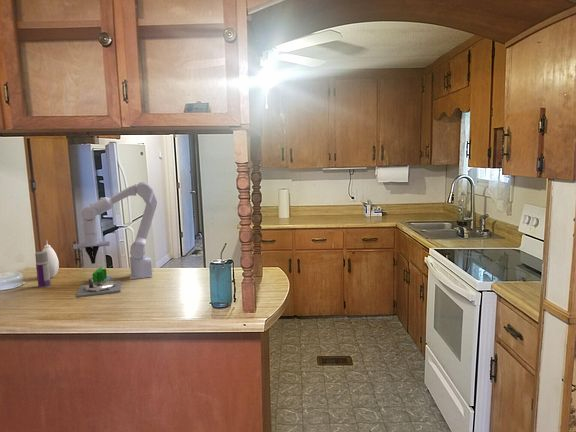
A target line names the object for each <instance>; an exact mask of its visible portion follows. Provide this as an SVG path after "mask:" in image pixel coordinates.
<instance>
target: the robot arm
mask: <svg viewBox="0 0 576 432" xmlns="http://www.w3.org/2000/svg"><path fill="white" fill-rule="evenodd" d="M137 195H138V196H140V198H141V199H142V200H143V201H144V203H145V204H146V205H145V207H144V210H143V214H142V217H141V220H140V224H139V226H138V230H137V233H136V236H135V239H134V241H133V243H132V244H131V245H130V250H129V251H130V252H129V253H130V257H129V265H130V274H129V275H130V277H129V278H130V280H136V279H144V278H146V279H147V278H153V268H152V258H151V256H147V255H146V250H145V249H146V242H147V238H148V236H149V231H150V229H151V225H152V221H153V218H154V216H155V213H156V209H157V206H158V201H157V197H156V195H155V192H154V189H153V188H152V187H151V185H150V184H149V183H148V182H147V181H141V182H138V184H133V185H131V186H128V187H126V188H124V189H123V190H121V191H119V192H118V193H116V194H114V195H112V196H111V197H106V196H105V197H102V196H101V197H100V198H99V200H97V201H95V202H93V203H89V205H88V206H85V207H84V208H83V209H82V210H81V213H80V215H81V217H82V230H83V239H84V241H83V242H80V243H73V245H72V246H73V250H78V249H84V250H85V252H86V253H87V255H88V257H89V259H90V263H91V264H92V265H93V264H96V259H97V254H98V251H99V248H100V247H110V246H111V245H110V241H99V227H98V222H97V216H100V215H103V213H106V212H107V211H110V210H111V209H113V207H114V204H116V203H118V202H120V201H121V200H124V199H126V198H128V197H130V196H133V197H134V196H137Z"/></svg>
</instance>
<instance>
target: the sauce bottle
mask: <svg viewBox="0 0 576 432" xmlns="http://www.w3.org/2000/svg"><path fill="white" fill-rule="evenodd" d="M48 243H49V242H48V239H46V245H44V246H43V248H42V250H41V252H44V251H46V252H47V255H48V262H49V272H50V279H51V278H54V277H55V275H57V274H58V272H59V266H60V262H59V258H58V255H57V253H56V252H55V250H54V248H53V247H52V246H51V245H50V244H48Z"/></svg>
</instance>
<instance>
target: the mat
mask: <svg viewBox="0 0 576 432" xmlns="http://www.w3.org/2000/svg"><path fill="white" fill-rule="evenodd" d="M104 281H112V275H107V279H104Z"/></svg>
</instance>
